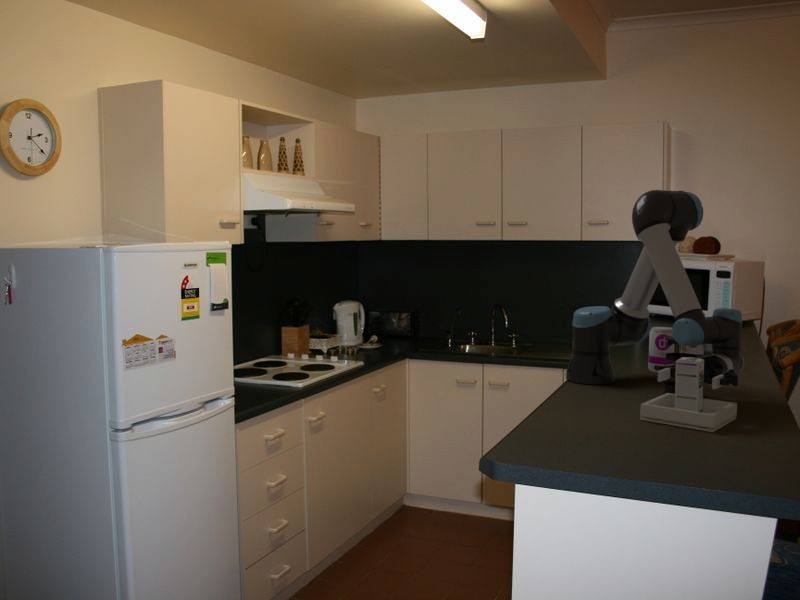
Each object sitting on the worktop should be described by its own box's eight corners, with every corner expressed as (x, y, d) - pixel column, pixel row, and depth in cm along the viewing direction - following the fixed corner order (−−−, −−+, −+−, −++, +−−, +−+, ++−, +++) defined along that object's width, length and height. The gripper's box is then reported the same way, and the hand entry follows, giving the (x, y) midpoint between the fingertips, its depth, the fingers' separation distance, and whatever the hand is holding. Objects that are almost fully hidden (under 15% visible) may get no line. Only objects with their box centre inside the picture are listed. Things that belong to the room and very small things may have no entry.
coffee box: (703, 352, 299) (705, 312, 298) (703, 355, 293) (705, 314, 292) (679, 351, 302) (680, 311, 301) (678, 353, 297) (680, 313, 295)
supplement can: (675, 374, 253) (676, 329, 252) (649, 372, 255) (651, 329, 254) (671, 369, 261) (673, 326, 260) (646, 368, 263) (648, 326, 262)
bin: (640, 419, 191) (640, 404, 191) (666, 407, 205) (667, 392, 204) (713, 432, 179) (713, 415, 179) (736, 418, 193) (737, 403, 193)
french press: (695, 400, 213) (698, 320, 211) (660, 397, 217) (663, 318, 215) (698, 393, 223) (702, 316, 221) (665, 389, 227) (668, 314, 225)
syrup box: (697, 419, 188) (700, 361, 187) (673, 415, 191) (675, 359, 190) (703, 414, 193) (705, 358, 191) (679, 411, 196) (681, 356, 195)
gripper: (762, 388, 197) (737, 402, 181) (668, 376, 213) (637, 387, 197) (763, 360, 196) (738, 371, 180) (669, 350, 213) (638, 359, 196)
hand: (685, 380), depth 189 cm, fingers open, 13 cm apart
